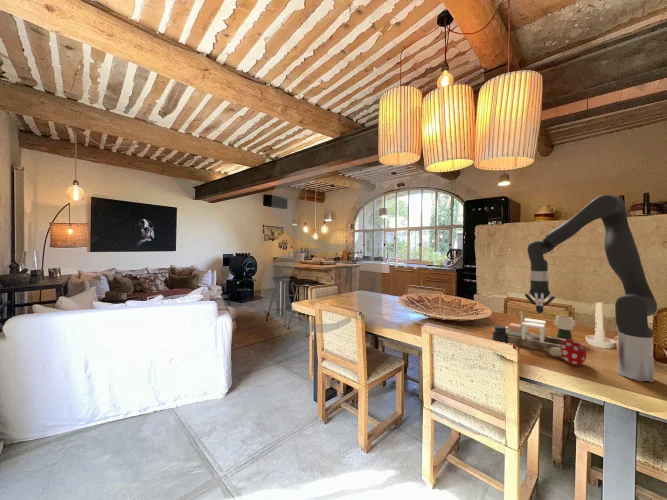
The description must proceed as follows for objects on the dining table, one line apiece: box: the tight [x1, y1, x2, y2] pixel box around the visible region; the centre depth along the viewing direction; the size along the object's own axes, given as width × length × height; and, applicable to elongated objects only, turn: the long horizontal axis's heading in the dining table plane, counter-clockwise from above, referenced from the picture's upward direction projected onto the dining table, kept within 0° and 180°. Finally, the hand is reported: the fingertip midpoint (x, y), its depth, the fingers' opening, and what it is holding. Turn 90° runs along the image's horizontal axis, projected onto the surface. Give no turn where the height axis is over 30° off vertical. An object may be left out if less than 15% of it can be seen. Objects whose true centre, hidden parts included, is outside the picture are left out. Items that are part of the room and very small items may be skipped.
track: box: [508, 332, 567, 353], centre depth 142 cm, size 28×14×4 cm, turn 48°
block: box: [508, 322, 521, 332], centre depth 148 cm, size 5×5×5 cm
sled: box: [505, 310, 524, 336], centre depth 148 cm, size 8×8×13 cm
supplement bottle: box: [491, 324, 508, 343], centre depth 135 cm, size 7×7×12 cm
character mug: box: [553, 314, 576, 340], centre depth 148 cm, size 11×7×13 cm, turn 85°
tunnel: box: [522, 317, 547, 343], centre depth 142 cm, size 9×14×8 cm, turn 138°
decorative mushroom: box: [547, 339, 587, 367], centre depth 123 cm, size 11×11×15 cm
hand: (539, 312), depth 139 cm, fingers closed
